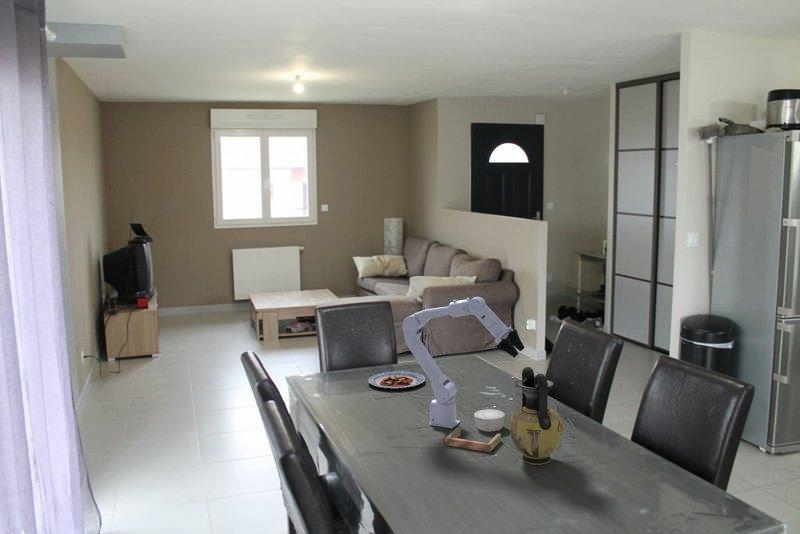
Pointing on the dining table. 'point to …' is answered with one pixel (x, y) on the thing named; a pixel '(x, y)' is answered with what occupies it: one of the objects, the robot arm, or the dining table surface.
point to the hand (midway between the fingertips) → (519, 352)
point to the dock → (471, 442)
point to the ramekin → (489, 420)
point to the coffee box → (518, 396)
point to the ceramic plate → (396, 379)
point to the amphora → (535, 420)
